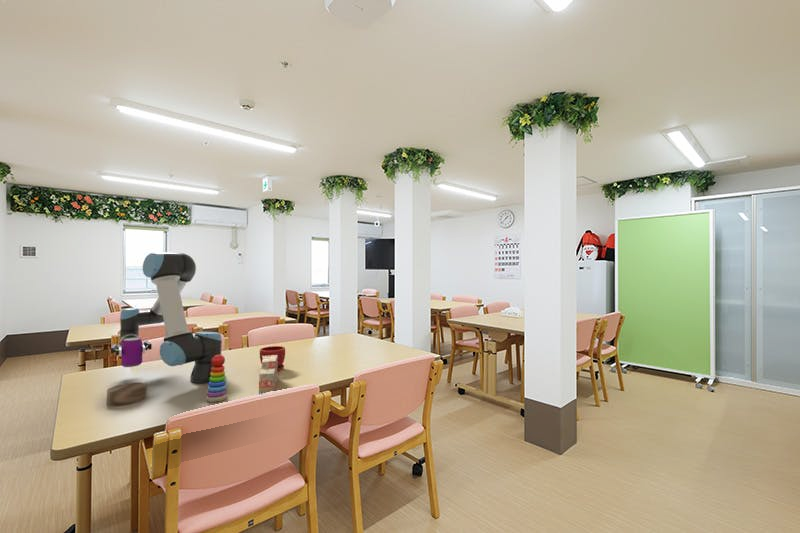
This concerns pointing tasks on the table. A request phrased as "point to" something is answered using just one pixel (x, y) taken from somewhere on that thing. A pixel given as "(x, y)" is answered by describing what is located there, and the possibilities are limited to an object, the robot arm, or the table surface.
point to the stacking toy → (217, 380)
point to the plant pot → (274, 351)
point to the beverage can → (131, 352)
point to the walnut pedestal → (126, 394)
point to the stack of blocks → (268, 374)
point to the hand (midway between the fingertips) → (132, 351)
